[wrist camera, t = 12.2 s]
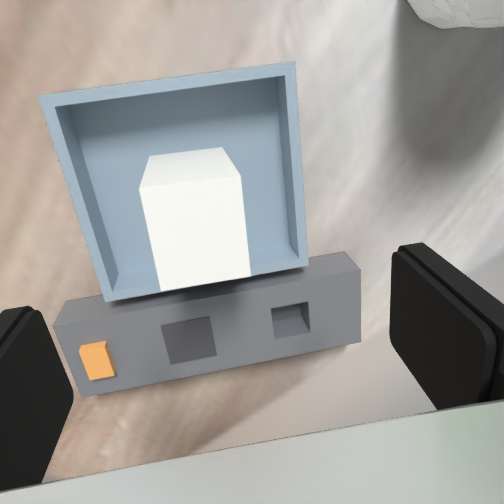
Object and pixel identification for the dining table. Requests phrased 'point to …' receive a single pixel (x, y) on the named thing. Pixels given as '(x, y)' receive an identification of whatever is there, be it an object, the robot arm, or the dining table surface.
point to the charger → (195, 218)
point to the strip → (210, 325)
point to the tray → (180, 140)
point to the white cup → (460, 13)
